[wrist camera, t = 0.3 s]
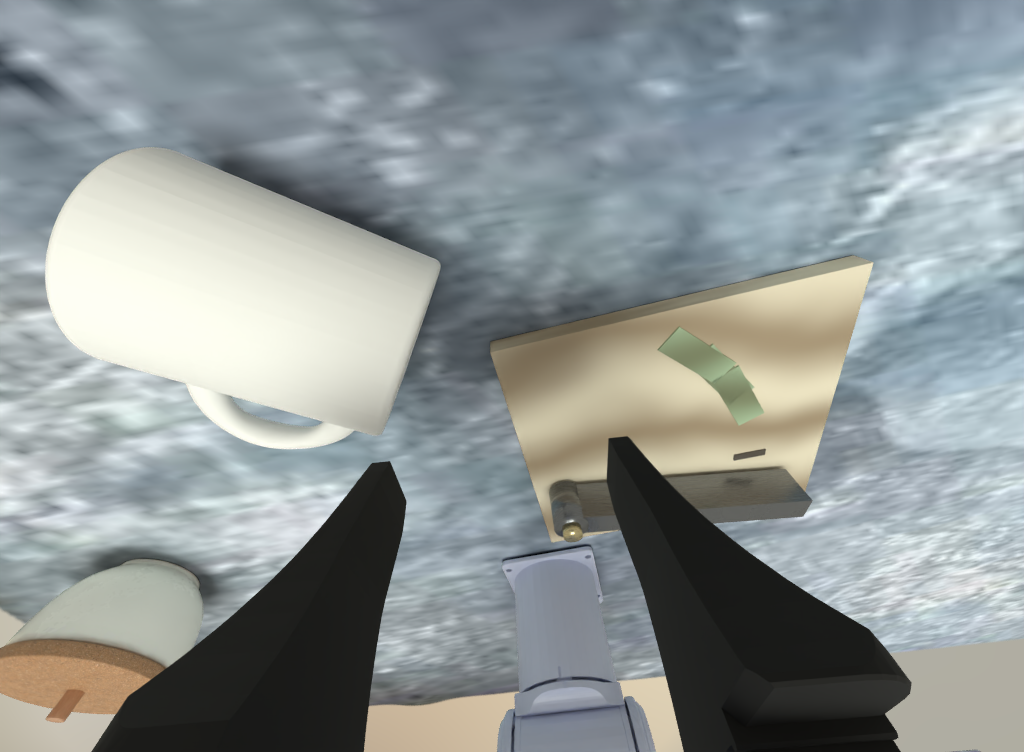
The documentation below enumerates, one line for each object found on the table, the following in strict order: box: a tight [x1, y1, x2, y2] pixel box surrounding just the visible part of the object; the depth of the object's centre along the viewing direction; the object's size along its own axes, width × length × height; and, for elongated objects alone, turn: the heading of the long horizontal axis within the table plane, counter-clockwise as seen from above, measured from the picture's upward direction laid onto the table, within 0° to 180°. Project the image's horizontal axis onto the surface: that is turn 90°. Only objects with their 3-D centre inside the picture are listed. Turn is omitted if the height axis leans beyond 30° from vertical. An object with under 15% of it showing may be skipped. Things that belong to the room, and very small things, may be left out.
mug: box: [45, 147, 441, 449], centre depth 16 cm, size 12×10×8 cm
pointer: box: [549, 469, 812, 542], centre depth 24 cm, size 2×16×3 cm, turn 94°
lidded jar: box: [0, 559, 203, 723], centre depth 29 cm, size 11×11×9 cm
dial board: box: [490, 255, 873, 542], centre depth 24 cm, size 18×19×1 cm
